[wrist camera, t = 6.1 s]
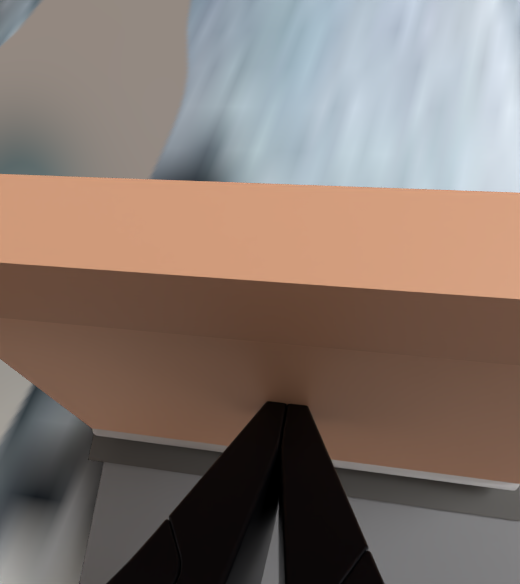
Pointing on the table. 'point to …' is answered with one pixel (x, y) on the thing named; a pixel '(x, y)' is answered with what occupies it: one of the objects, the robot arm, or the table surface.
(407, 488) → the switch panel
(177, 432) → the tan flat block
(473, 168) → the table surface
